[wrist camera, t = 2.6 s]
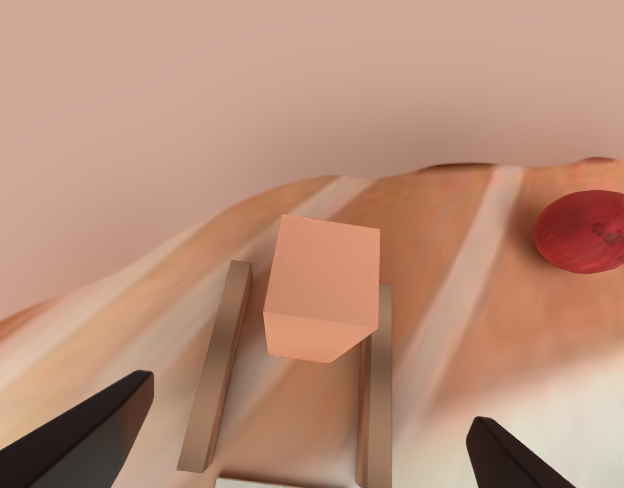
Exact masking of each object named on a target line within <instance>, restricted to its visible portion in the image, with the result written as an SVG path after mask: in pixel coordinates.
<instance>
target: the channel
mask: <svg viewBox="0 0 624 488" xmlns="http://www.w3.org/2000/svg"><path fill="white" fill-rule="evenodd" d="M252 279H253V275H252V268H251V263H248V262H242V261H235V260H232V261H231V265H230V269H229V272H228V276H227V280H226V284H225V288H224V291H223V295H222V299H221V303H220V307H219V310H218V314H217V318H216V322H215V326H214V329H213V333H212V337H211V341H210V345H209V348H208V352H207V356H206V360H205V364H204V367H203V371H202V375H201V379H200V383H199V386H198V390H197V394H196V398H195V402H194V405H193V409H192V413H191V417H190V420H189V424H188V428H187V432H186V436H185V439H184V443H183V447H182V451H181V455H180V458H179V462H178V466H177V470H181V471H189V472H197V473H203V472H204V471H205V470H206V469H207V468H208V467H209V466H210V465H211V463H212V459H213V454H214V450H215V445H216V441H217V436H218V432H219V427H220V423H221V418H222V414H223V409H224V405H225V400H226V396H227V391H228V387H229V382H230V378H231V373H232V369H233V364H234V360H235V355H236V351H237V346H238V342H239V337H240V333H241V328H242V324H243V319H244V315H245V310H246V306H247V301H248V297H249V292H250V288H251V283H252ZM356 483H357V484H358V485H359V486H360V487H361V488H392V284H385V283H379V308H378V329H377V330H375V331H374V332H373V333H371V334H370V335H368V336H367V337H366V338H364V339H363V340H362V344H361V367H360V390H359V413H358V436H357V459H356Z"/></svg>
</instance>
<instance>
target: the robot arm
mask: <svg viewBox="0 0 624 488" xmlns="http://www.w3.org/2000/svg"><path fill="white" fill-rule="evenodd" d="M153 398H154V374H153V372H151V371H145V370H136V371H134V372H132V373H131V374H129V375H127V376H126V377H124V378H122V379H121V380H119V381H117V382H115V383H114V384H112V385H110V386H109V387H107V388H105V389H104V390H102V391H100V392H99V393H97V394H95V395H93V396H92V397H90V398H88V399H87V400H85V401H83V402H82V403H80V404H78V405H76V406H75V407H73V408H71V409H70V410H68V411H66V412H65V413H63V414H61V415H59V416H58V417H56V418H54V419H53V420H51V421H49V422H48V423H46V424H44V425H42V426H41V427H39V428H37V429H36V430H34V431H32V432H31V433H29V434H27V435H25V436H24V437H22V438H20V439H19V440H17V441H15V442H14V443H12V444H10V445H8V446H7V447H5V448H3V449H2V450H0V488H111V486H112V484H113V483H114V481H115V479H116V477H117V476H118V474H119V472H120V470H121V468H122V467H123V465H124V463H125V461H126V459H127V457H128V454H129V452H130V450H131V448H132V446H133V444H134V442H135V439H136V437H137V435H138V433H139V431H140V429H141V426H142V424H143V422H144V420H145V418H146V416H147V413H148V411H149V409H150V407H151V405H152V402H153ZM466 446H467V450H468V453H469V457H470V460H471V464H472V467H473V471H474V474H475V477H476V481H477V484H478V488H576V487H575V486H573V485H572V484H571V483H570V482H569V481H567V480H566V479H565V478H564V477H562V476H561V475H560V474H559V473H558V472H556V471H555V470H554V469H553V468H552V467H550V466H549V465H548V464H547V463H545V462H544V461H543V460H542V459H541V458H539V457H538V456H537V455H536V454H535V453H533V452H532V451H531V450H530V449H529V448H527V447H526V446H525V445H524V444H522V443H521V442H520V441H519V440H518V439H516V438H515V437H514V436H513V435H512V434H510V433H509V432H508V431H507V430H505V429H504V428H503V427H502V426H501V425H499V424H498V423H497V422H496V421H495V420H493V419H491V418H488V417H481V416H477V417H476V418H474V420H473V423H472V425H471V427H470V430H469V432H468V435H467V438H466Z"/></svg>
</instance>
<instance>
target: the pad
mask: <svg viewBox="0 0 624 488" xmlns="http://www.w3.org/2000/svg"><path fill="white" fill-rule="evenodd" d="M215 488H304V487H296V486H288V485H280V484H272V483H264V482H256V481H248V480H240V479H232V478H224V477H218V478H217V480H216V485H215Z"/></svg>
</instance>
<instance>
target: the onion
mask: <svg viewBox="0 0 624 488" xmlns="http://www.w3.org/2000/svg"><path fill="white" fill-rule="evenodd" d="M534 234H535V244H536V247H537V249H538V252H539V253H540V254H541V255H542V257H543V258H544V259H545V260H546V261H548V262H549V263H551V264H552V265H554V266H556V267H558V268H561V269H564V270H567V271H570V272H573V273H580V274H591V273H598V272H603V271H607V270H611V269H615V268H617V267H618V266H620V265H622V264H624V194H621V193H618V192H611V191H604V190H591V191H582V192H575V193H572V194H568V195H566V196H564V197H562V198H560V199H558V200H556V201H555V202H553V203H552V204H550V205H549V206H547V207H546V208H545V209H544V210H543V212H542V213H541V214H540V216H539V218H538V220H537V223H536V226H535V230H534Z"/></svg>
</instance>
